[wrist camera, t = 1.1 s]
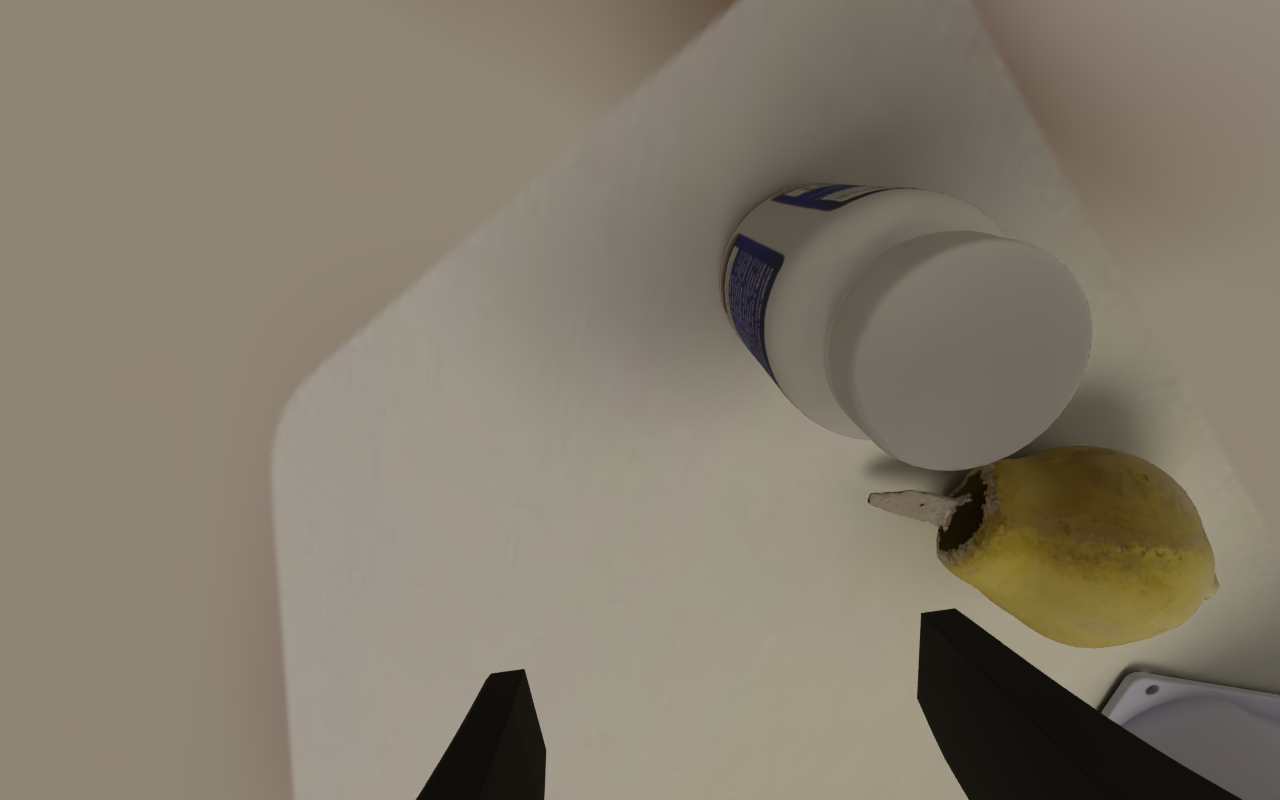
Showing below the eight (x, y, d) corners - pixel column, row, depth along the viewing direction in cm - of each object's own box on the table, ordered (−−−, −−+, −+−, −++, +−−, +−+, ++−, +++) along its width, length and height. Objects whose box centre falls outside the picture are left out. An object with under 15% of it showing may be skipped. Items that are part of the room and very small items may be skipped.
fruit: (877, 398, 20) (1203, 422, 19) (837, 520, 23) (1108, 545, 23) (924, 538, 15) (1355, 577, 14) (865, 662, 19) (1206, 699, 18)
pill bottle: (802, 391, 19) (946, 558, 11) (681, 287, 18) (741, 390, 10) (928, 262, 18) (1197, 344, 10) (808, 140, 17) (1003, 113, 8)
